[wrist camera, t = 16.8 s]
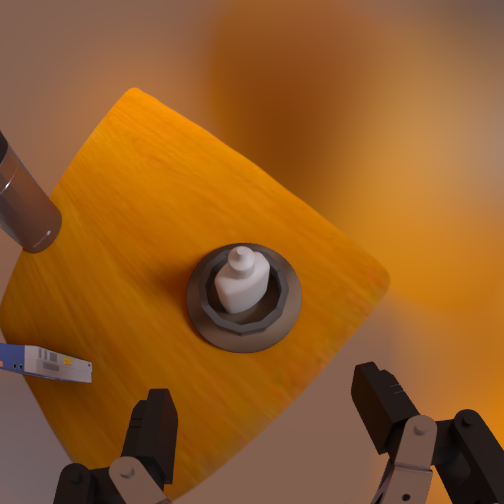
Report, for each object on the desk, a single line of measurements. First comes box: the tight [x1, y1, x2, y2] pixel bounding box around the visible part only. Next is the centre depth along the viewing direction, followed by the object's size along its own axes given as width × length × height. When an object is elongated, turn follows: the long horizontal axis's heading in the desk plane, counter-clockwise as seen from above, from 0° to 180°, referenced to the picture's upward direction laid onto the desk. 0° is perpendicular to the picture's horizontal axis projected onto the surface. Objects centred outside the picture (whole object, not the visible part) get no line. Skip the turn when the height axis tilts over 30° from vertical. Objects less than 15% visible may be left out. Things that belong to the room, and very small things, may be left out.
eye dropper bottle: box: [215, 246, 270, 314], centre depth 30 cm, size 4×6×12 cm
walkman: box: [0, 343, 92, 383], centre depth 26 cm, size 8×3×12 cm, turn 97°
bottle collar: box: [186, 243, 302, 353], centre depth 35 cm, size 14×14×4 cm
